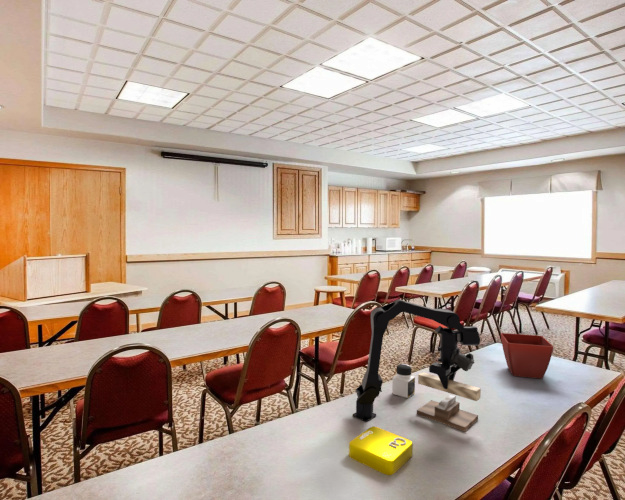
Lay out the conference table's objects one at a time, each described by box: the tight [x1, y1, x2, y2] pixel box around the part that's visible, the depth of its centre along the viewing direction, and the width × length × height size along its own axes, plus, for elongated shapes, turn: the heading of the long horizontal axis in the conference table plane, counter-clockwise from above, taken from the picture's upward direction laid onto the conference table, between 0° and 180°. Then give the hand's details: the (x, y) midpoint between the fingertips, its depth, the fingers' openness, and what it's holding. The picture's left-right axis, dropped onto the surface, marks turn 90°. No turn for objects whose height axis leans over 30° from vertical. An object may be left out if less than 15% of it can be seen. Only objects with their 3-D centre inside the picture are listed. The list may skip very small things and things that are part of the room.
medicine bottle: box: [391, 363, 416, 399], centre depth 160 cm, size 7×7×12 cm
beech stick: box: [417, 371, 482, 402], centre depth 139 cm, size 22×4×4 cm, turn 46°
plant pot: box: [500, 332, 554, 380], centre depth 186 cm, size 19×19×17 cm
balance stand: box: [416, 394, 479, 432], centre depth 140 cm, size 12×18×6 cm, turn 47°
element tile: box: [348, 426, 414, 476], centre depth 116 cm, size 15×15×5 cm
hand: (447, 387), depth 140 cm, fingers closed on beech stick, 3 cm apart
